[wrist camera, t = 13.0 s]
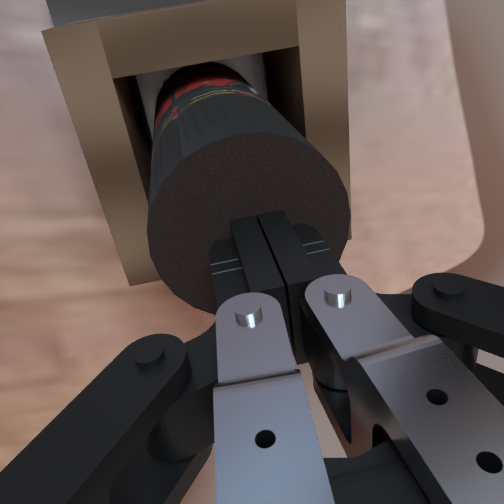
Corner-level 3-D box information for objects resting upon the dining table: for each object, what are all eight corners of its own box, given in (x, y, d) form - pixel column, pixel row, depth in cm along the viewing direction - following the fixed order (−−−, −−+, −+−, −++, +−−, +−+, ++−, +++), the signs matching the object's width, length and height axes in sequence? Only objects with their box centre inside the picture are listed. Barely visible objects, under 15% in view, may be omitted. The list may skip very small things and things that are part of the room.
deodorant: (273, 85, 25) (387, 174, 13) (235, 178, 28) (298, 333, 15) (173, 42, 23) (187, 96, 11) (142, 147, 26) (121, 294, 13)
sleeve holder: (49, -2, 23) (-7, -1, 15) (307, -43, 24) (374, -62, 17) (125, 231, 30) (113, 310, 23) (322, 191, 31) (373, 253, 24)
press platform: (133, 60, 24) (132, 62, 24) (257, 39, 25) (260, 40, 24) (164, 178, 28) (164, 184, 27) (271, 157, 29) (274, 162, 28)
